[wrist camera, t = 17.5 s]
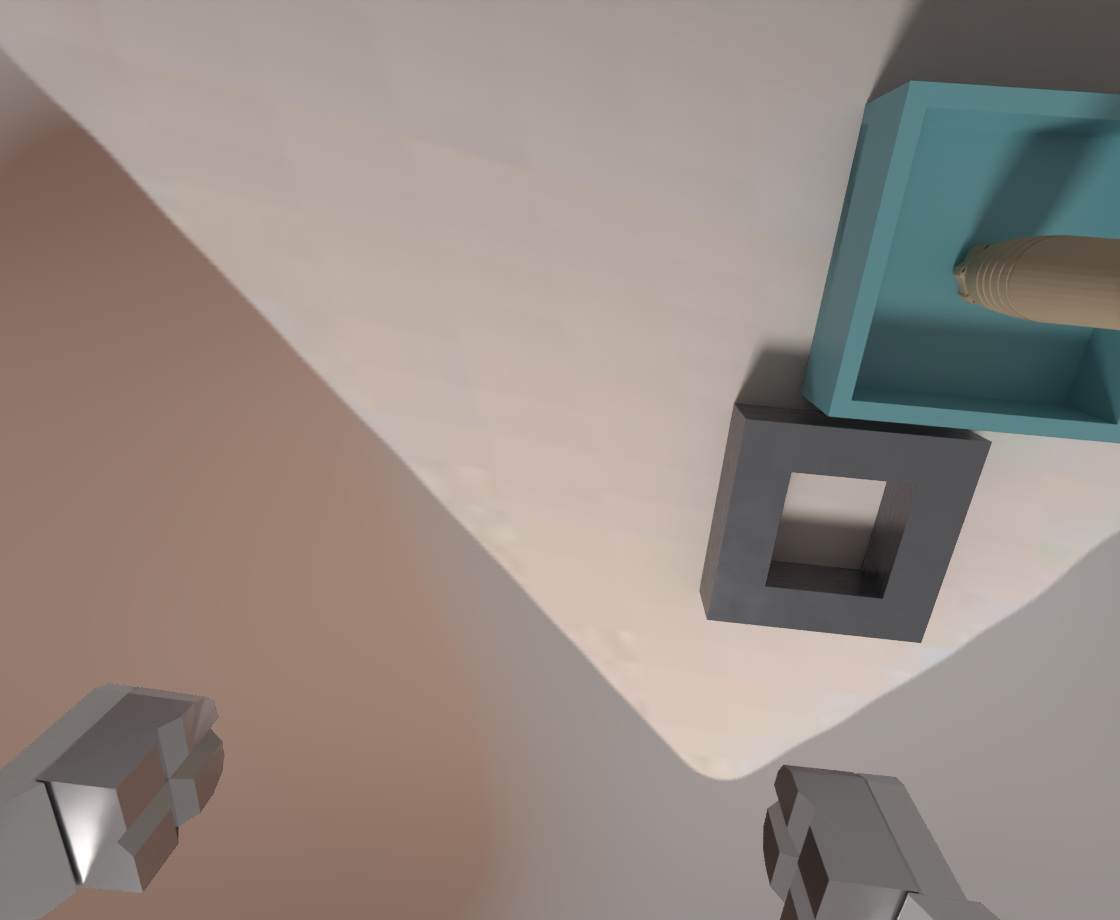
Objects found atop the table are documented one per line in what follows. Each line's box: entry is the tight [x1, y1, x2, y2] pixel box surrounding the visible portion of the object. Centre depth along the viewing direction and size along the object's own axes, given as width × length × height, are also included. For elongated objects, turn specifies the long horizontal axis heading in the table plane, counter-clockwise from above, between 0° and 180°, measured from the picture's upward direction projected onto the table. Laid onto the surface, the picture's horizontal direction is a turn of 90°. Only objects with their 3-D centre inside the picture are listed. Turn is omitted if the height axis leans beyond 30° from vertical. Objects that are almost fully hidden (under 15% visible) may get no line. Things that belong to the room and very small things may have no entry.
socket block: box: [700, 404, 992, 643], centre depth 38 cm, size 14×14×4 cm
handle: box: [952, 235, 1120, 330], centre depth 26 cm, size 5×6×15 cm
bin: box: [801, 81, 1120, 443], centre depth 32 cm, size 16×16×5 cm
